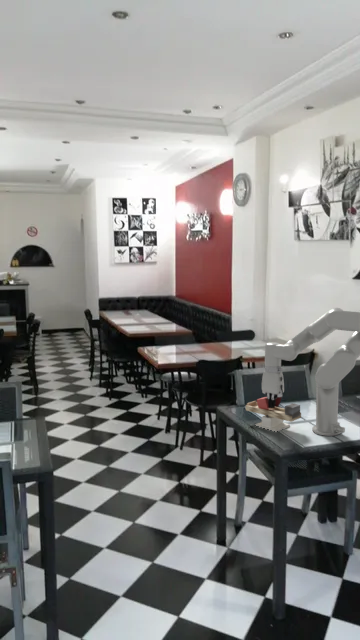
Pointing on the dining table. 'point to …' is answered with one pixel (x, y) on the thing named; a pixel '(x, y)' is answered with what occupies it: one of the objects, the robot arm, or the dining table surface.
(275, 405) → the mug
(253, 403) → the beam
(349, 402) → the dining table surface
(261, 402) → the block
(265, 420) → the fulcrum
